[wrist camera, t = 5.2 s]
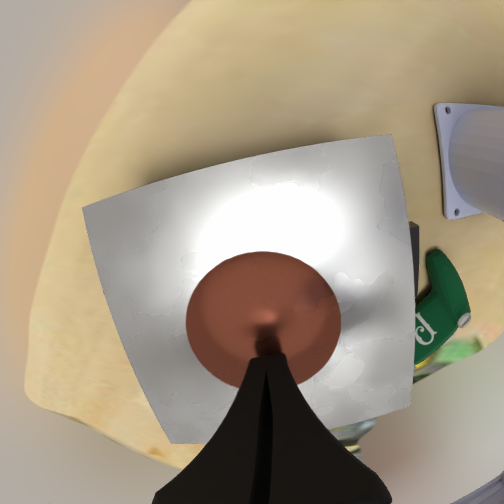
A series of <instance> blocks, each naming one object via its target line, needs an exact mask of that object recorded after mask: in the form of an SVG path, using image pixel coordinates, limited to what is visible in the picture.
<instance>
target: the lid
mask: <svg viewBox="0 0 504 504" xmlns="http://www.w3.org/2000/svg"><path fill="white" fill-rule="evenodd" d="M82 210H83V215H84V219H85V224H86V229H87V233H88V237H89V241H90V245H91V249H92V253H93V257H94V261H95V264H96V268H97V271H98V275H99V278H100V281H101V285H102V288H103V291H104V294H105V297H106V300H107V303H108V306H109V309H110V312H111V315H112V318H113V320H114V323H115V326H116V329H117V331H118V334H119V336H120V339H121V342H122V344H123V347H124V349H125V352H126V354H127V356H128V359H129V361H130V363H131V366H132V368H133V370H134V372H135V375H136V377H137V379H138V381H139V383H140V386H141V388H142V390H143V392H144V394H145V396H146V398H147V400H148V402H149V404H150V406H151V408H152V410H153V412H154V414H155V416H156V418H157V419H158V421H159V423H160V425H161V427H162V429H163V430H164V432H165V434H166V436H167V437H168V439H169V441H170V443H172V444H207V443H208V441H209V440H210V439H211V438H212V436H213V435H214V433H215V432H216V430H217V429H218V427H219V426H220V424H221V423H222V421H223V419H224V418H225V416H226V414H227V412H228V410H229V409H230V407H231V405H232V403H233V401H234V399H235V397H236V395H237V392H238V390H239V388H240V386H241V383H242V381H243V378H244V376H245V373H246V370H247V367H248V364H249V360H250V359H251V358H255V357H261V356H267V355H273V354H279V353H284V354H286V358H287V363H288V366H289V369H290V371H291V374H292V376H293V378H294V380H295V382H296V384H297V386H298V388H299V389H300V391H301V393H302V395H303V396H304V398H305V400H306V401H307V403H308V404H309V406H310V407H311V409H312V410H313V411H314V413H315V414H316V416H317V417H318V418H319V419H320V421H321V422H322V423H323V424H324V426H325V427H326V428H327V429H332V428H336V427H340V426H344V425H349V424H352V423H356V422H360V421H364V420H367V419H371V418H374V417H378V416H381V415H384V414H387V413H390V412H393V411H396V410H399V409H402V408H405V407H408V406H410V401H411V392H412V382H413V369H414V351H415V290H414V271H413V258H412V247H411V238H410V229H409V222H408V214H407V208H406V201H405V195H404V189H403V184H402V179H401V174H400V169H399V164H398V159H397V155H396V151H395V146H394V142H393V138H392V134H388V135H379V136H370V137H362V138H354V139H346V140H339V141H333V142H326V143H320V144H314V145H308V146H302V147H297V148H292V149H286V150H281V151H276V152H271V153H266V154H262V155H257V156H252V157H248V158H244V159H239V160H235V161H231V162H227V163H223V164H219V165H215V166H211V167H207V168H203V169H199V170H196V171H192V172H188V173H185V174H181V175H178V176H174V177H171V178H168V179H164V180H161V181H158V182H154V183H151V184H148V185H145V186H142V187H139V188H136V189H133V190H130V191H127V192H124V193H121V194H118V195H115V196H112V197H109V198H106V199H104V200H101V201H98V202H95V203H93V204H90V205H87V206H85V207H82Z"/></svg>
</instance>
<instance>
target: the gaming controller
mask: <svg viewBox="0 0 504 504" xmlns="http://www.w3.org/2000/svg"><path fill="white" fill-rule="evenodd" d="M426 266H427V270H428V274H429V278H430V282H431V287H432V289H431V292H430V294H429V295H427V296H426V297H424V298H423V299H422V301H421V302H420V303H419V304H418V305H417V306H416V307H415V351H414V369H413V372H414V371H415V369H416V367H415V365H417V364H419V363H420V362H422V361H424V360H425V359H426V358H427V357H429V356H430V355H431V354H432V353H434V352H435V351H436V350H437V349H438V348H439V347H440V346H442V345H443V344H444V343H445V342H446V341H447V340H448V339H449V338H450V337H451V336H452V335H453V334H454V332H455V331H456V330H457V328H458V327H460V328H464V327H466V326H467V325H468V324H469V322H470V320H471V315H470V312H471V311H470V307H469V303H468V299H467V295H466V292H465V289H464V286H463V283H462V281H461V279H460V277H459V275H458V273H457V271H456V269H455V267H454V266H453V264H452V263H451V262H450V260H449V259H448V258H447V256H446V255H445V254H444V253H443V252H442V251H440V250H439V249H436V250H434V251H433V252H432V253H430V254H429V255H428V256H427V257H426Z"/></svg>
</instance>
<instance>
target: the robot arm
mask: <svg viewBox="0 0 504 504" xmlns="http://www.w3.org/2000/svg"><path fill="white" fill-rule="evenodd" d="M445 108H447V110H448V113H446V111H445ZM434 112H435V118H436V124H437V131H438V138H439V146H440V154H441V164H442V177H443V194H444V216H445V217H446V218H447V219H449V220H454V219H458V218H463V217H467V216H472V215H476V214H480V213H487V214H489V215H492V216H494V217H496V218H498V219H500V220H502V221H504V107H501V106H491V105H479V104H461V103H437V104H436V105H435V106H434ZM455 210H456V213H455V214H454V212H455ZM391 503H392V497H391V495H390V493H389V491H388V489H387V487H386V486H385V484H384V483H383V482H382V480H381V479H380V478H379V476H378V475H377V474H376V473H375V472H374V471H372V470H371V469H370V468H368V467H367V466H366V465H364V464H363V463H362V462H361V461H360V460H358V459H357V458H356V457H355V456H354V455H353V454H351V453H350V452H349V451H348V450H347V449H346V448H345V447H344V446H343V445H342V444H341V443H340V442H339V441H338V440H337V439H336V438H335V437H334V436H333V435H332V434H331V433H330V431H329V430H328V429H327V428H326V427H325V426H324V424H323V423H322V422H321V421H320V419H319V418H318V417H317V416H316V414H315V413H314V411H313V410H312V409H311V407H310V406H309V404H308V403H307V401H306V400H305V398H304V396H303V395H302V393H301V391H300V389H299V388H298V386H297V384H296V382H295V380H294V378H293V376H292V374H291V371H290V369H289V366H288V363H287V358H286V354H284V353H279V354H273V355H267V356H261V357H255V358H251V359H250V360H249V364H248V367H247V370H246V373H245V376H244V378H243V381H242V383H241V386H240V388H239V390H238V392H237V395H236V397H235V399H234V401H233V403H232V405H231V407H230V409H229V410H228V412H227V414H226V416H225V418H224V419H223V421H222V423H221V424H220V426H219V427H218V429H217V430H216V432H215V433H214V435H213V436H212V438H211V439H210V440H209V441H208V443H207V444H206V445H205V447H204V448H203V449H202V450H201V451H200V453H199V454H198V455H197V456H196V457H195V458H194V459H193V460H192V461H191V462H190V463H189V464H188V465H187V466H186V467H185V468H184V469H183V470H182V471H181V472H180V473H179V474H178V475H177V476H176V477H175V478H174V479H173V480H172V481H170V482H169V483H168V484H166V485H165V486H164V487H162V488H161V489H160V490H159V491H157V492H156V493H155V496H154V499H153V501H152V504H391ZM451 504H504V471H503V472H502V473H501V474H500V475H499V476H497V477H496V478H495V479H493V480H491V481H490V482H488V483H487V484H485V485H483V486H482V487H480V488H478V489H477V490H475V491H473V492H472V493H470V494H468V495H466V496H464V497H463V498H461V499H459V500H457V501H455V502H453V503H451Z"/></svg>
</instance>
